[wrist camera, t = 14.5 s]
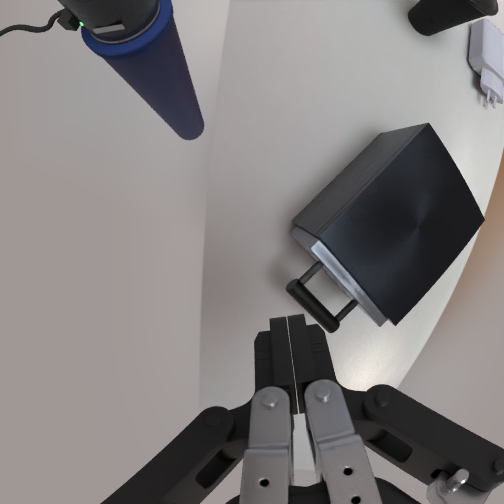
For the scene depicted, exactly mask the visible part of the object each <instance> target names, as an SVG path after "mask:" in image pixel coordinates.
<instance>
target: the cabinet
mask: <svg viewBox="0 0 504 504" xmlns="http://www.w3.org/2000/svg"><path fill="white" fill-rule="evenodd" d="M292 221H293V223H294V224H295V225H296V226H298V227H300V228H302V229H303V230H305V231H306V232H308V233H310V234H311V235H313V236H315V237H316V238H318V239H319V240H321V242H322V243H323V244H324V245H325V246H326V247H327V248H328V249H329V250H330V252H331V253H332V254H333V255H334V256H335V257H336V258H337V260H338V261H339V262H340V263H341V264H342V265H343V266H344V268H345V269H346V270H347V271H348V272H349V273H350V274H351V276H352V277H353V278H354V279H355V280H356V281H357V283H358V284H359V285H360V286H361V287H362V288H363V290H364V291H365V292H366V293H367V294H368V295H369V297H370V298H371V299H372V300H373V301H374V303H375V304H376V305H377V306H378V307H379V309H380V310H381V311H382V312H383V313H384V315H385V316H386V317H387V318H388V320H389V321H390V322H391V323H392V324H393V325H395V326H396V325H397V324H398V323H399V322H400V321H401V320H402V319H403V318H404V317H405V316H406V315H407V314H408V312H409V311H410V310H411V309H412V308H413V307H414V306H415V305H416V304H417V303H418V302H419V301H420V300H421V299H422V297H423V296H424V295H425V294H426V293H427V292H428V291H429V290H430V288H431V287H432V286H433V285H434V284H435V283H436V282H437V280H438V279H439V278H440V277H441V276H442V275H443V273H444V272H445V271H446V270H447V269H448V267H449V266H450V265H451V264H452V263H453V261H454V260H455V259H456V258H457V256H458V255H459V254H460V253H461V251H462V250H463V249H464V247H465V246H466V245H467V244H468V242H469V241H470V240H471V238H472V237H473V236H474V234H475V233H476V232H477V230H478V229H479V227H480V226H481V225H482V223H483V222H484V221H485V219H484V217H483V215H482V213H481V211H480V209H479V207H478V205H477V203H476V201H475V199H474V197H473V195H472V193H471V191H470V189H469V187H468V185H467V183H466V182H465V180H464V178H463V176H462V174H461V173H460V171H459V169H458V168H457V166H456V164H455V162H454V161H453V159H452V157H451V156H450V154H449V153H448V151H447V149H446V148H445V146H444V145H443V143H442V141H441V140H440V138H439V137H438V135H437V134H436V132H435V131H434V129H433V128H432V126H431V125H430V124H429V123H425V124H421V125H416V126H411V127H407V128H402V129H398V130H394V131H390V132H385V133H381V134H380V135H379V136H378V137H377V138H375V139H374V140H373V141H372V142H371V143H370V144H369V145H368V146H367V147H366V148H365V149H364V150H363V151H362V152H361V153H360V154H359V155H358V156H357V157H356V158H355V159H354V160H353V161H352V162H351V163H350V164H349V165H348V166H347V167H346V168H345V169H344V170H343V171H342V172H341V173H340V174H339V175H338V176H337V177H336V178H335V179H334V180H333V181H332V182H331V183H330V184H329V185H328V186H327V187H326V188H325V189H324V190H323V191H322V192H320V193H319V194H318V195H317V196H316V197H315V198H314V199H313V200H312V201H311V202H310V203H309V204H308V205H307V206H306V207H305V208H304V209H303V210H302V211H301V212H300V213H299V214H298V215H297V216H296V217H295V218H294V219H293V220H292Z"/></svg>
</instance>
